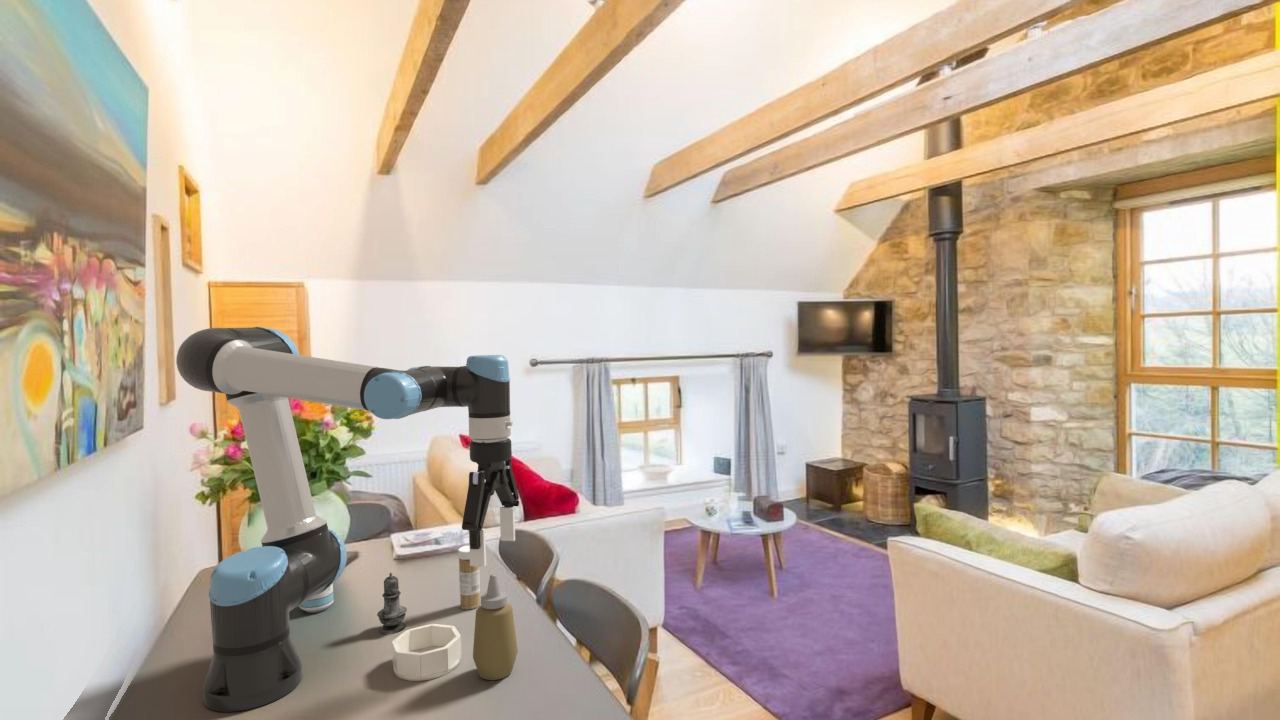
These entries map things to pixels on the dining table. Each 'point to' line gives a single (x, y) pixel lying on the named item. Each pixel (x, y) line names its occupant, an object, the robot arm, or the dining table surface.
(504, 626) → the squeeze bottle
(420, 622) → the dining table surface
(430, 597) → the dining table surface
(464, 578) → the sprinkles bottle
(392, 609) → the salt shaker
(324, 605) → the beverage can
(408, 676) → the crock
